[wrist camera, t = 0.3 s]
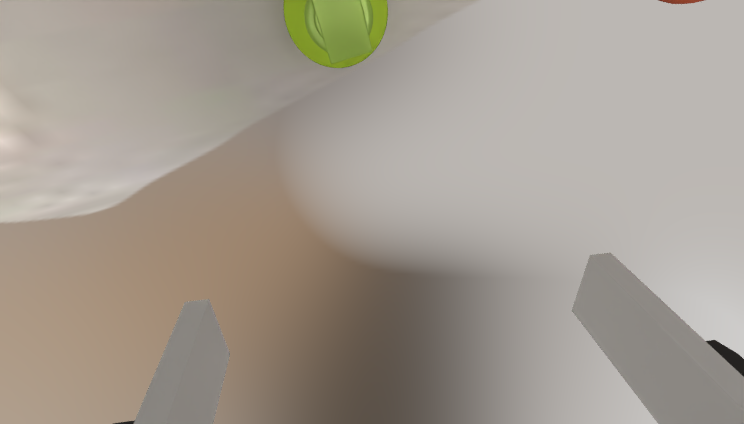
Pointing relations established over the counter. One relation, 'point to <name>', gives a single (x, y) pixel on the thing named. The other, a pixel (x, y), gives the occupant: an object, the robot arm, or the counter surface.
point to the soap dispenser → (336, 29)
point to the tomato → (680, 1)
